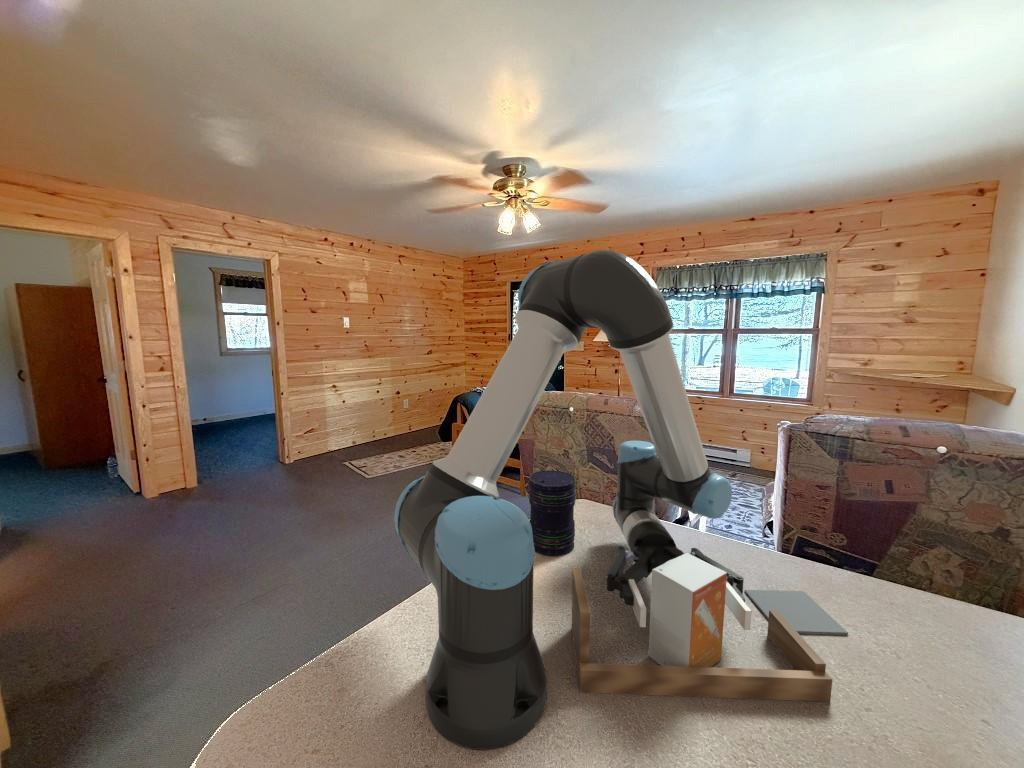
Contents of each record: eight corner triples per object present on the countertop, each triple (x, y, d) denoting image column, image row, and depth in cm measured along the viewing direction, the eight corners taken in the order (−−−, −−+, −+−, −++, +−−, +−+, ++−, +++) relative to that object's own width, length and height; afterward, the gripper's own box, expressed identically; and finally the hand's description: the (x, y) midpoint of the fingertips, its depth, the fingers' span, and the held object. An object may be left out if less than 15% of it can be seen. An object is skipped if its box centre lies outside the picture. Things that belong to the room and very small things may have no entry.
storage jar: (550, 529, 95) (550, 467, 93) (584, 545, 87) (585, 478, 86) (519, 544, 88) (519, 477, 86) (553, 562, 81) (554, 490, 79)
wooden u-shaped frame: (580, 692, 51) (581, 618, 50) (571, 628, 62) (572, 567, 61) (830, 701, 50) (837, 626, 49) (775, 635, 61) (780, 572, 60)
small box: (688, 687, 52) (692, 592, 50) (647, 655, 57) (650, 568, 56) (723, 660, 56) (728, 571, 55) (681, 632, 61) (685, 551, 60)
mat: (779, 633, 61) (779, 630, 61) (744, 591, 71) (744, 589, 71) (847, 635, 61) (848, 632, 61) (803, 593, 71) (803, 591, 71)
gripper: (716, 560, 75) (790, 648, 53) (579, 557, 76) (599, 642, 55) (718, 521, 74) (794, 594, 53) (580, 519, 75) (600, 590, 54)
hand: (695, 619), depth 53 cm, fingers open, 13 cm apart
